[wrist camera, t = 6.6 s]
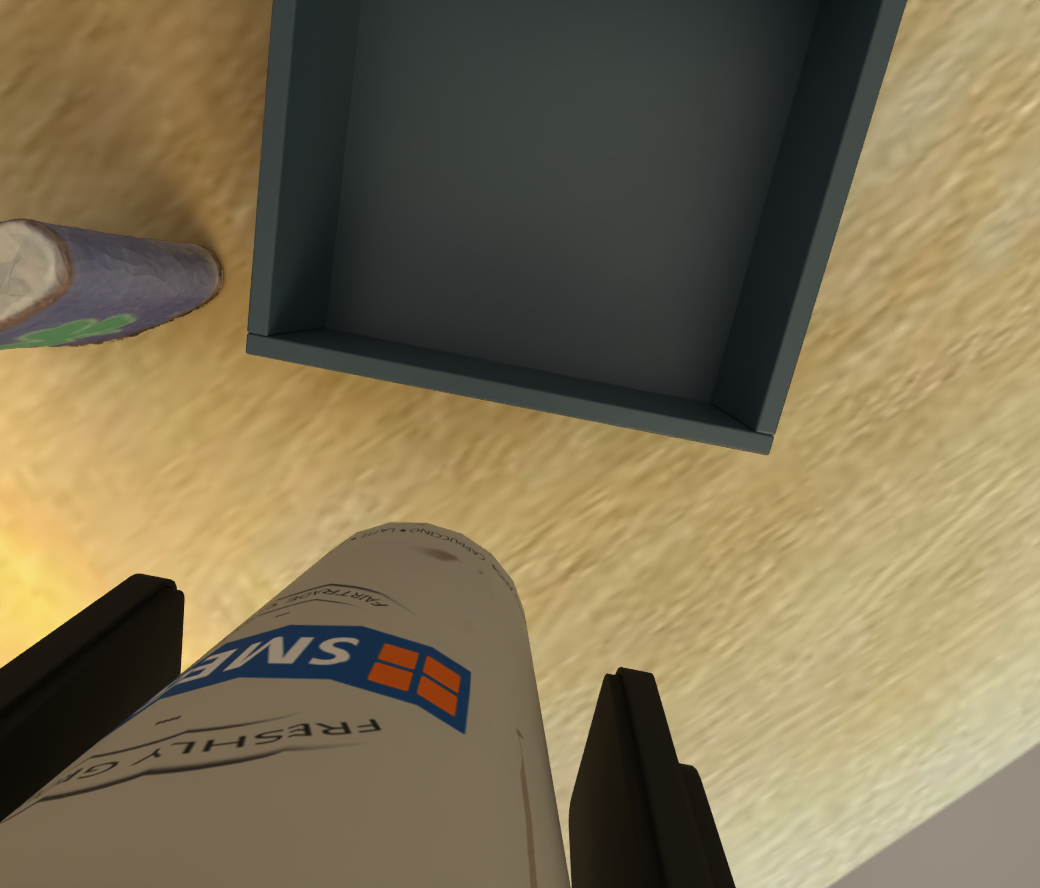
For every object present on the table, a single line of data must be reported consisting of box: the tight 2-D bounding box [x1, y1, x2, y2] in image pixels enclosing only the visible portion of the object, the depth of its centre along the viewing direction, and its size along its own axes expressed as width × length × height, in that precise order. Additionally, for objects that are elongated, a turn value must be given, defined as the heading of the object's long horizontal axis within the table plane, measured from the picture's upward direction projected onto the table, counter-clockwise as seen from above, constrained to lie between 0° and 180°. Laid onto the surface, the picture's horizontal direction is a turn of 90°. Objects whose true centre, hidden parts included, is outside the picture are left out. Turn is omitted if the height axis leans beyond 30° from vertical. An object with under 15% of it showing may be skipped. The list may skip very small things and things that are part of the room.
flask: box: [0, 219, 224, 350], centre depth 20 cm, size 9×3×11 cm, turn 105°
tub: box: [246, 0, 907, 455], centre depth 21 cm, size 16×18×6 cm
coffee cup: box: [0, 522, 571, 888], centre depth 7 cm, size 7×7×10 cm
